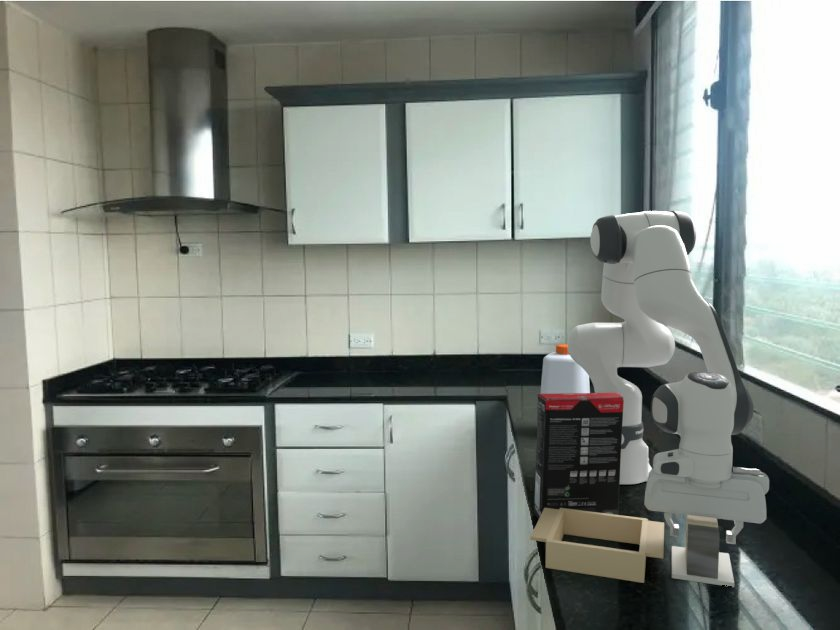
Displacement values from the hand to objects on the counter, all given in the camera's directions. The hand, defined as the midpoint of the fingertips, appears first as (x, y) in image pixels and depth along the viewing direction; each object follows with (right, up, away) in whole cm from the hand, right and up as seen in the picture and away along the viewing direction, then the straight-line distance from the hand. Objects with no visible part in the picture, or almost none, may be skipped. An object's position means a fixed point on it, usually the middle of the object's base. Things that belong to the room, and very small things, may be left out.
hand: (702, 538), depth 125 cm
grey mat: (0, -5, +1) cm, 5 cm away
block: (0, -5, 0) cm, 5 cm away
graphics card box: (-17, -4, +23) cm, 29 cm away
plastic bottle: (-6, +3, +89) cm, 89 cm away
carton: (-17, -5, +6) cm, 19 cm away
